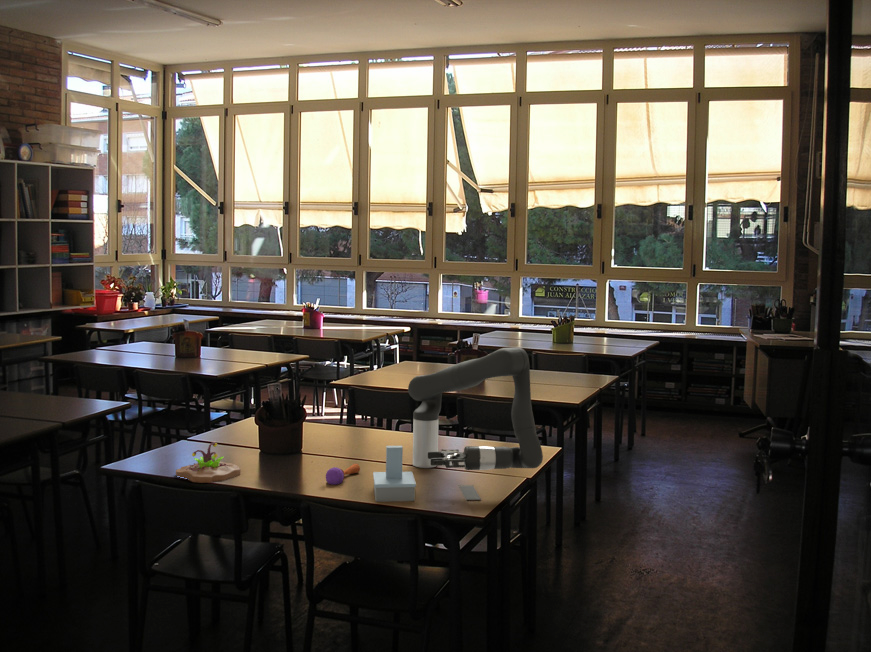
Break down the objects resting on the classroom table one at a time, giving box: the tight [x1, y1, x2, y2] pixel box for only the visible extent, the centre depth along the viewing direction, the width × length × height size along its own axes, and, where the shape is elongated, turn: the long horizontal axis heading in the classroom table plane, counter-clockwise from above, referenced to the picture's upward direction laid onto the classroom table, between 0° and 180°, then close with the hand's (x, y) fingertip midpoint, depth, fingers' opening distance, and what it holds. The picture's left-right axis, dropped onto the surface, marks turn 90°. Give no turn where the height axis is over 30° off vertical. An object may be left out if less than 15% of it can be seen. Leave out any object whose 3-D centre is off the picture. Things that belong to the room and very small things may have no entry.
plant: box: [175, 441, 241, 484], centre depth 276 cm, size 20×20×11 cm
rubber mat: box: [458, 484, 482, 501], centre depth 258 cm, size 16×14×1 cm
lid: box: [372, 445, 417, 488], centre depth 252 cm, size 15×13×11 cm
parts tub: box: [373, 484, 416, 503], centre depth 253 cm, size 14×12×5 cm
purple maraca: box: [325, 463, 361, 486], centre depth 272 cm, size 6×6×20 cm
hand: (429, 458), depth 254 cm, fingers open, 8 cm apart
